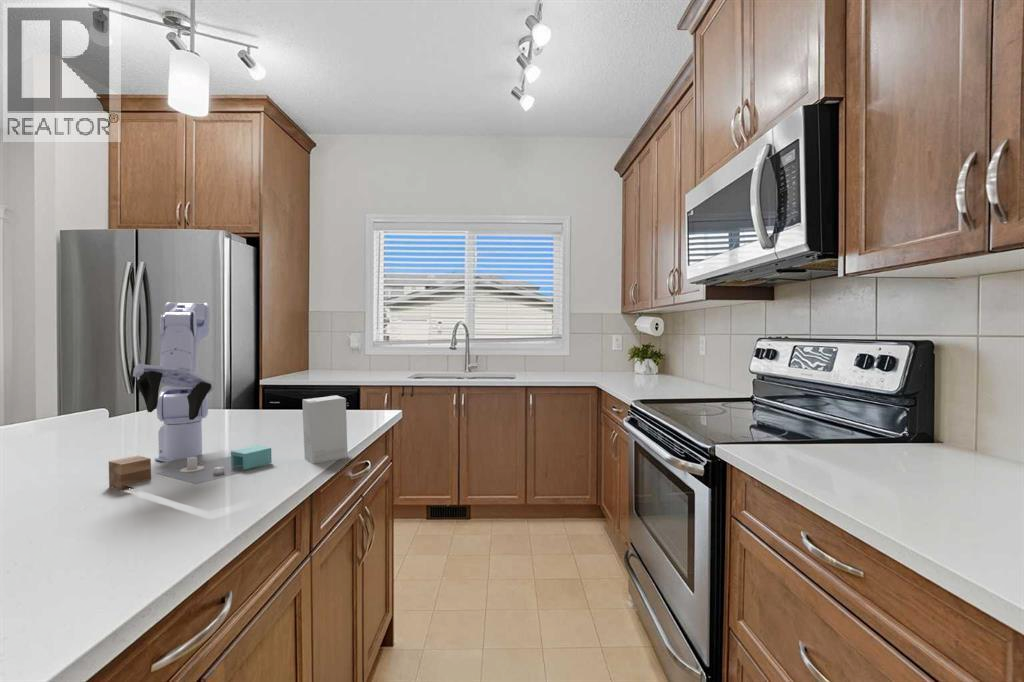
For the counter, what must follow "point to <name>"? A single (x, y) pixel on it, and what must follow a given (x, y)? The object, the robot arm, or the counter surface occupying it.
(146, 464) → the jaw block
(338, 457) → the skincare box
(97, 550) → the counter surface
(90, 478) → the counter surface
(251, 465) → the housing cover
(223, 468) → the slate board
